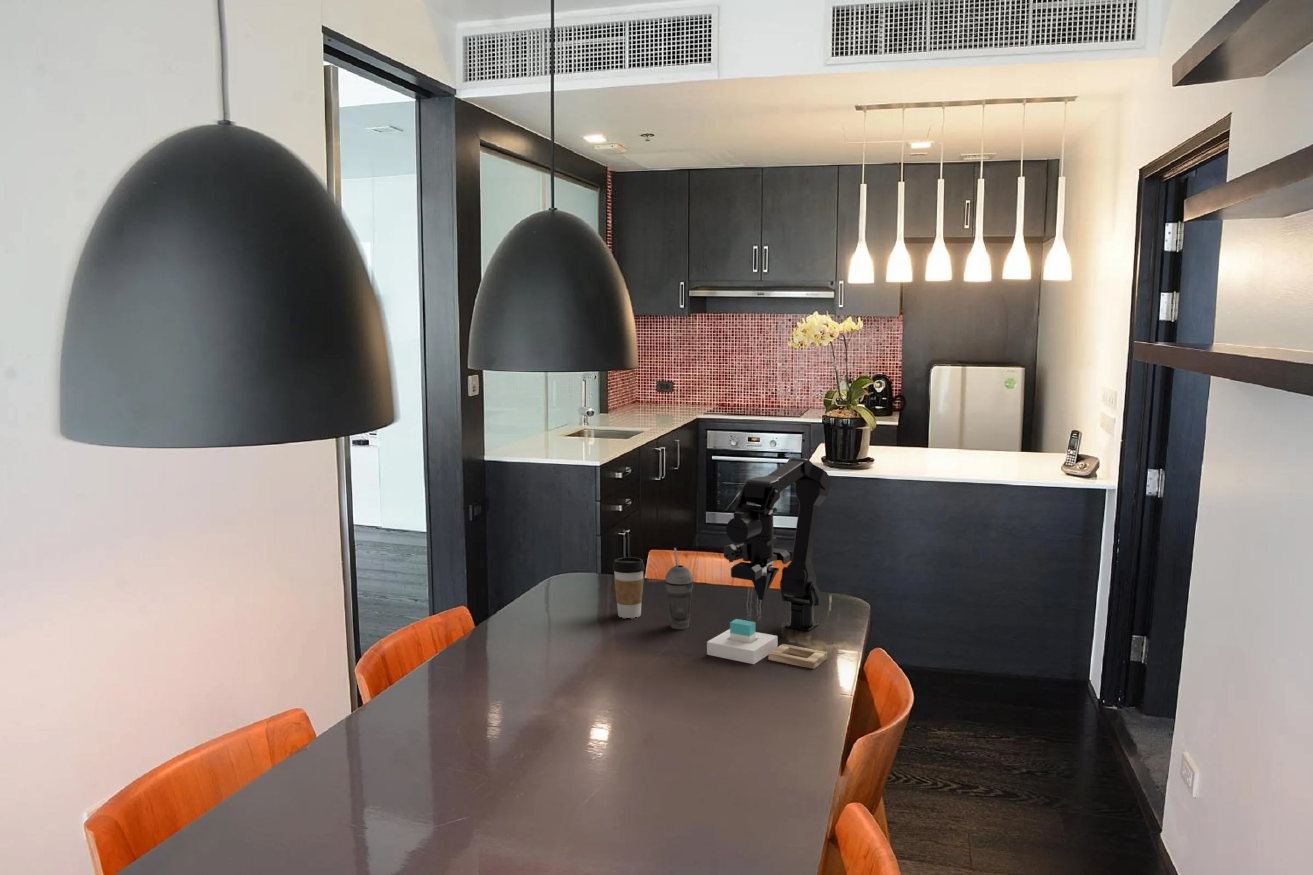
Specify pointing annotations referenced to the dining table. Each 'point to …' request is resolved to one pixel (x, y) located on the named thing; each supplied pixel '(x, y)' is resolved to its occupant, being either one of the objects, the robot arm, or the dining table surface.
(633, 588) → the coffee cup
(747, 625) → the plug
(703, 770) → the dining table surface
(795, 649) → the holster
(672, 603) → the beverage cup
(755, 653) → the port block
